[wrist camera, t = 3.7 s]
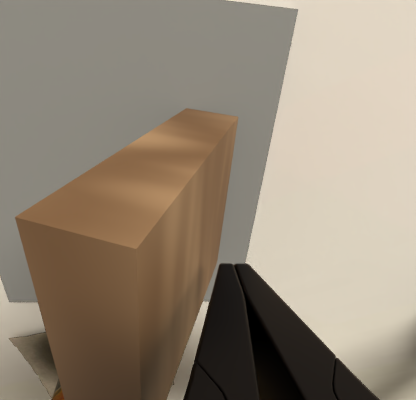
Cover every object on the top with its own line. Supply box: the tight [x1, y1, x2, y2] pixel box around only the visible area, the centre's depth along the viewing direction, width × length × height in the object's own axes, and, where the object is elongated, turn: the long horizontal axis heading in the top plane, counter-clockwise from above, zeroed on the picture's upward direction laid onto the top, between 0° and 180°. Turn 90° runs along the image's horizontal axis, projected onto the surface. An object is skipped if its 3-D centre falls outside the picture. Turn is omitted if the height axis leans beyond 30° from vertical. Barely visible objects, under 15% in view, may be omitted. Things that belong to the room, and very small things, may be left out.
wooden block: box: [15, 108, 238, 400], centre depth 10 cm, size 2×7×8 cm, turn 173°
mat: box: [0, 0, 298, 302], centre depth 13 cm, size 12×14×1 cm
